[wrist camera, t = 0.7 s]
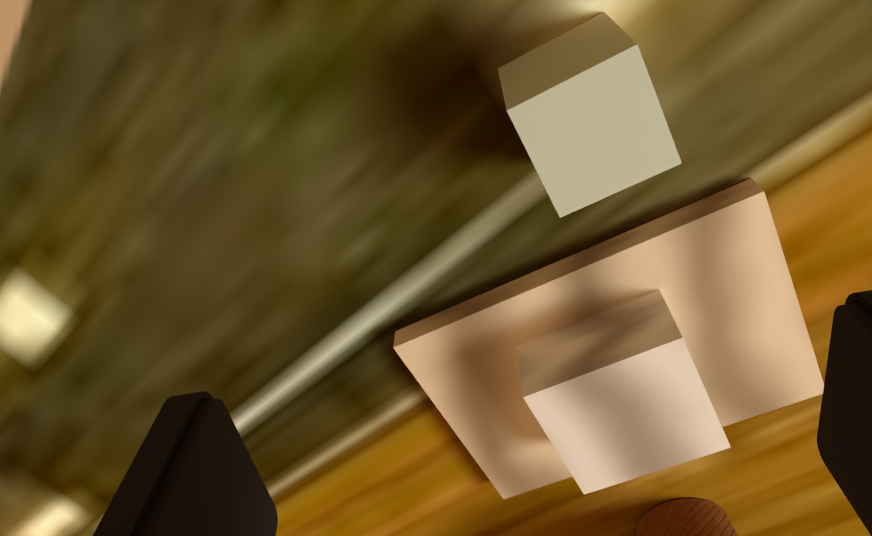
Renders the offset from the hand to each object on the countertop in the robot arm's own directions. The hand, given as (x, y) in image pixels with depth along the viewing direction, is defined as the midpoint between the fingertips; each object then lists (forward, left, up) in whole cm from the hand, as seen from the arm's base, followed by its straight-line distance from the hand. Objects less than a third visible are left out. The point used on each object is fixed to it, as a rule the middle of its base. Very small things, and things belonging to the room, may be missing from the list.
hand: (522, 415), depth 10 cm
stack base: (+1, +18, -22) cm, 28 cm away
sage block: (-3, +3, -22) cm, 22 cm away
